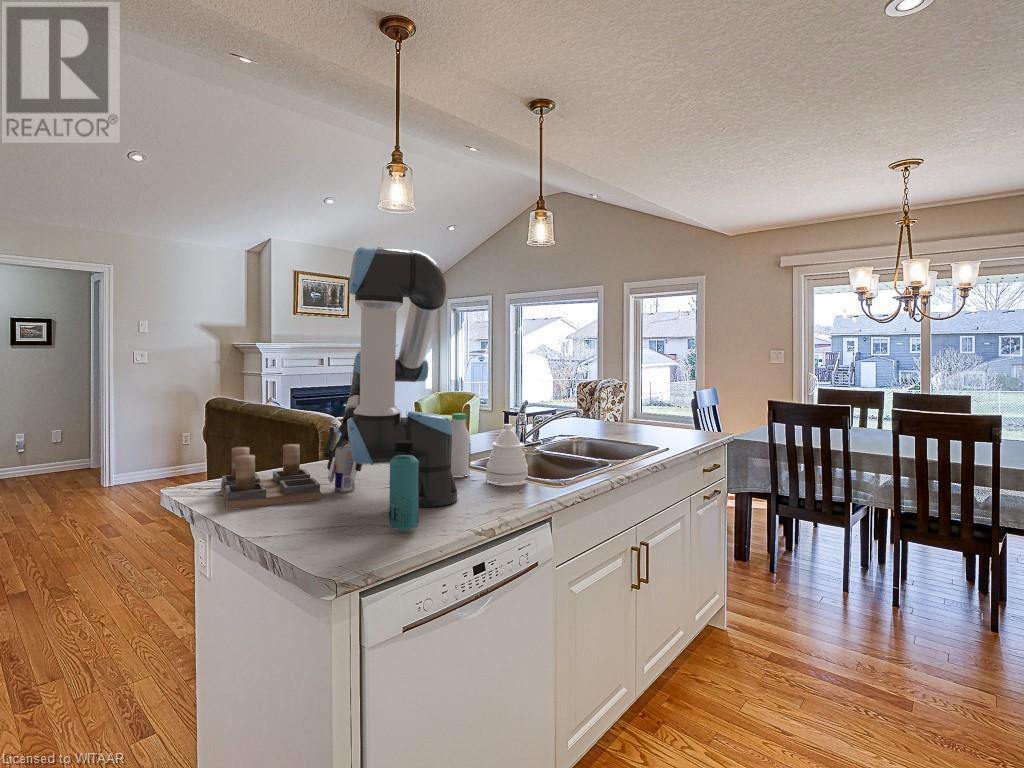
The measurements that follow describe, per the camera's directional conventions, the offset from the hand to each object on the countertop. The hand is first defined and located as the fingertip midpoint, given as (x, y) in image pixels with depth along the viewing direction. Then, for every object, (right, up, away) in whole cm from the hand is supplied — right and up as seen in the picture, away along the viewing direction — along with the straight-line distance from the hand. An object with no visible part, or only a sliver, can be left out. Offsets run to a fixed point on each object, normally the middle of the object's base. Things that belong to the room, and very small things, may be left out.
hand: (341, 479), depth 150 cm
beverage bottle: (+23, -6, -31) cm, 39 cm away
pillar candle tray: (-18, -4, -3) cm, 19 cm away
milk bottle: (+30, -3, +26) cm, 40 cm away
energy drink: (0, -4, +4) cm, 6 cm away
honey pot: (+45, -4, +20) cm, 49 cm away
